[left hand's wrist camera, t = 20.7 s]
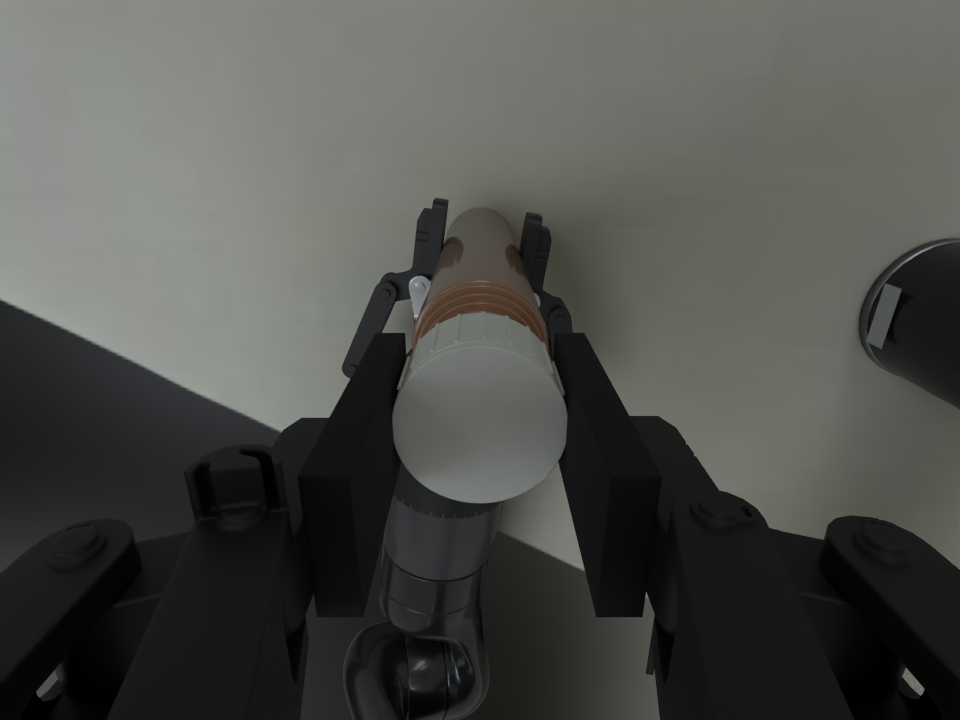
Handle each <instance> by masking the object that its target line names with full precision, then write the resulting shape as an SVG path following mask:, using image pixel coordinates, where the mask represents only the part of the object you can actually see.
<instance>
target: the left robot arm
mask: <svg viewBox="0 0 960 720" xmlns="http://www.w3.org/2000/svg"><path fill="white" fill-rule="evenodd" d="M553 361H554V362H555V365H556V368H557V371H558V374H559V377H560V380H561V383H562V386H563V389H564V392H565V395H564V396H563V397H564V401H565V404H566V407H567V412H568V418H567V434H566V445H565V448H564V451H563V453H562V456H561V457H560V459H559V461H558V462H559V466H560V470H561V474H562V478H563V482H564V487H565V491H566V495H567V499H568V503H569V507H570V511H571V515H572V519H573V523H574V527H575V531H576V535H577V540H578V544H579V548H580V552H581V556H582V560H583V564H584V568H585V572H586V576H587V580H588V584H589V588H590V593H591V597H592V601H593V605H594V609H595V613H596V617H642V615H643V609H644V602H645V595H646V592H647V594H648V597H649V600H650V602H651V605H652V608H653V610H654V613H655V617H654V624H653V630H652V637H651V643H650V650H649V656H648V663H647V669H646V674H650V675H653V673H654V668H655V677H656V686H657V696H658V705H659V714H660V720H960V570H959V569H958V568H957V567H955V566H954V565H953V564H952V563H951V562H950V561H948V560H947V559H946V558H945V557H944V556H942V555H941V554H940V553H939V552H938V551H937V550H935V549H934V548H933V547H932V546H931V545H929V544H928V543H926V542H925V541H924V540H922V539H921V538H919V537H918V536H916V535H915V534H913V533H912V532H909V531H907V530H905V529H903V528H901V527H898V526H896V525H895V524H893V523H890V522H887V521H884V520H882V521H881V520H879V519H876V518H871V517H861V516H845V517H840V518H836V519H835V520H833V521H832V522H831V523H830V524H829V525H828V527H827V530H826V534H825V537H824V540H821V539H816V538H811V537H806V536H802V535H797V534H792V533H787V532H782V531H779V530H775V529H771V528H769V527H768V525H767V522H766V520H765V519H764V517H763V516H762V515H761V513H760V512H759V511H758V509H757V508H755V507H754V506H752V505H751V504H750V503H748V502H747V501H745V500H744V499H742V498H739V497H737V496H735V495H732V494H730V493H727V492H723V491H719V489H718V488H717V487H716V485H715V484H714V482H713V481H712V479H711V478H710V476H709V475H708V473H707V472H706V471H705V469H704V468H703V466H702V465H701V463H700V462H699V460H698V459H697V457H696V456H694V453H693V452H692V450H691V449H690V447H689V446H688V445H686V441H685V440H684V439H683V437H682V436H681V434H680V433H679V431H678V430H677V428H675V427H674V426H672V425H671V424H669V423H668V422H666V421H665V420H663V419H662V418H660V417H659V416H629V415H628V413H627V411H626V409H625V407H624V405H623V404H622V402H621V400H620V398H619V396H618V394H617V393H616V391H615V389H614V387H613V385H612V383H611V382H610V380H609V378H608V376H607V374H606V372H605V371H604V369H603V367H602V365H601V363H600V361H599V360H598V358H597V356H596V354H595V352H594V350H593V349H592V347H591V345H590V343H589V341H588V339H587V338H586V336H585V334H584V333H555V337H554V356H553ZM405 363H406V344H405V333H375V335H374V337H373V339H372V341H371V342H370V344H369V346H368V348H367V350H366V352H365V353H364V355H363V357H362V359H361V361H360V363H359V364H358V366H357V368H356V370H355V372H354V374H353V375H352V377H351V379H350V381H349V383H348V385H347V386H346V388H345V390H344V392H343V394H342V396H341V397H340V399H339V401H338V403H337V405H336V407H335V408H334V410H333V412H332V414H331V416H330V418H301V419H299V420H298V421H296V422H295V423H293V424H292V425H290V426H289V427H287V428H286V429H284V430H283V431H282V433H281V434H280V436H279V437H278V439H277V440H276V442H275V443H274V447H269V446H265V445H261V444H241V445H235V446H229V447H224V448H222V449H219V450H216V451H213V452H210V453H208V454H206V455H204V456H202V457H201V458H199V459H197V460H196V461H194V462H193V463H192V464H191V465H190V466H189V467H188V468H187V469H186V470H185V471H184V475H185V479H186V484H187V488H188V492H189V496H190V501H191V505H192V510H193V514H194V518H195V521H194V523H193V526H192V528H191V530H190V531H186V532H183V533H179V534H175V535H170V536H166V537H160V538H155V539H150V540H146V541H141V542H136V539H135V536H134V532H133V529H132V527H131V526H130V525H129V524H127V523H126V522H125V521H123V520H117V519H112V518H105V519H94V520H87V521H82V522H81V523H75V524H72V525H69V526H67V527H65V528H63V529H61V530H59V531H57V532H55V533H52V534H50V535H48V536H47V537H45V538H44V539H42V540H41V541H39V542H38V543H36V544H35V545H33V546H32V547H31V548H29V549H28V550H27V551H26V552H25V553H24V554H22V555H21V556H20V557H19V558H18V559H17V560H15V561H14V562H13V563H12V564H11V565H9V566H8V567H7V568H6V569H5V570H4V571H2V572H1V573H0V720H300V715H301V706H302V697H303V688H304V679H305V669H306V660H307V651H308V642H309V637H308V630H307V624H306V617H305V615H306V612H307V610H308V607H309V604H310V601H311V599H312V596H313V593H314V597H315V604H316V611H317V617H363V616H364V611H365V607H366V603H367V599H368V595H369V591H370V587H371V583H372V579H373V575H374V571H375V567H376V563H377V558H378V554H379V550H380V546H381V542H382V538H383V534H384V530H385V526H386V522H387V518H388V514H389V510H390V506H391V501H392V497H393V493H394V489H395V485H396V481H397V477H398V473H399V469H400V465H401V459H400V457H399V455H398V453H397V451H396V448H395V445H394V438H393V424H392V412H393V408H394V404H395V401H396V397H397V394H398V391H399V390H397V386H398V383H399V380H400V377H401V374H402V372H403V369H404V366H405ZM905 668H907V669H908V670H909V671H910V672H911V673H912V675H913V676H914V677H915V678H916V679H917V680H918V682H919V683H920V684H921V685H922V686H923V687H924V689H925V690H924V692H923V694H922V695H921V696H920V695H919V694H917V693H916V692H915V691H914V690H913V689H912V688H911V687H910V686H909V684H908V683H907V682H906V681H905V680H904V678H903V677H902V676H903V673H904V671H905ZM54 670H55V672H56V674H57V677H58V680H57V681H56V682H55V684H54V685H53V686H52V687H51V688H50V690H48V691H47V692H46V693H45V694H44V695H43V696H42V697H40V698H39V697H38V696H37V694H36V691H37V690H38V689H39V687H40V686H41V685H42V684H43V683H44V682H45V680H46V679H47V678H48V677H49V676H50V675H51V674H52V672H53V671H54Z"/></svg>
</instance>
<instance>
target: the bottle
mask: <svg viewBox="0 0 960 720" xmlns="http://www.w3.org/2000/svg"><path fill="white" fill-rule="evenodd" d="M481 312H485V313H490V314H496V315H500V316H504V317H505V315H506V316H508V317H509V318H510V319H512V320H514V321H517V322H518V323H520V324H522V325H523V326H525V327H526V326H528V327H529V328H530V331H531V332H533V333H534V334H535V335H536V337H537V338H538V339H539V340H540V341H541V342H544V343H545V345H546V348H547V349H548V337H547V330H546V327H545V324H544V321H543V318H542V315H541V312H540V309H539V307H538V304H537V301H536V298H535V295H534V293H533V290H532V287H531V284H530V281H529V279H528V276H527V273H526V270H525V267H524V265H523V262H522V259H521V256H520V253H519V251H518V248H517V245H516V242H515V239H514V237H513V234H512V231H511V229H510V226H509V225H508V223H507V221H506V220H505V219H504V218H503V217H502V216H501V215H499V214H498V213H496V212H495V211H492V210H490V209H485V208H475V209H470V210H467V211H465V212H463V213H462V214H460V215H459V216H458V217H457V218H456V219H455V220H454V221H453V223H452V224H451V226H450V228H449V231H448V234H447V236H446V239H445V242H444V245H443V248H442V250H441V253H440V256H439V259H438V262H437V265H436V267H435V270H434V273H433V276H432V279H431V281H430V284H429V287H428V290H427V293H426V295H425V298H424V301H423V304H422V307H421V309H420V312H419V315H418V318H417V321H416V324H415V327H414V331H413V337H412V349H413V350H414V348H415V347H416V345H417V342H418V339H419V338H420V337H421V338H423V336H424V335H426V334H427V333H428V332H429V331H430V330H431V329H433V328H434V327H435V325H436V324H437V323H439V324H440V323H442V322H444V321H446V320H448V319H451V318H453V317H456V316H457V315H458V314H461V315H464V314H471V313H481Z"/></svg>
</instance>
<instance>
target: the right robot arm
mask: <svg viewBox="0 0 960 720" xmlns="http://www.w3.org/2000/svg"><path fill="white" fill-rule="evenodd" d="M447 210H448V200H447V199H440V198H435V199H434V201H433V206H432V209H429V208H424V210H423V211H422V213H421V215H420V216H419V218H418V220H417V229H416V240H415V249H414V258H413V267H412V268H411V269H410V270H408V271H406V272H401V273H393V272H390V273H387V274H385V275H384V276H383V277H382V279H381V281H380V283H378V284H377V286H376V287H375V289H374V291H373V294H372V296H371V299H370V301H369V303H368V306H367V308H366V311H365V313H364V315H363V318H362V320H361V322H360V325H359V327H358V330H357V332H356V334H355V337H354V339H353V341H352V344H351V346H350V349H349V351H348V353H347V356H346V358H345V360H344V363H343V365H342V371H343V373H344V374H345V376H347V377H348V378H351V377H352V375H353V374H354V372H355V370H356V368H357V366H358V364H359V363H360V361H361V359H362V357H363V355H364V353H365V352H366V350H367V348H368V346H369V344H370V342H371V341H372V339H373V337H374V335H375V333H382V331H383V329H384V327H385V325H386V322H387V320H388V318H389V315H390V313H391V311H392V309H393V306H394V304H395V302H396V301H400V300H405V299H410V298H411V303H412V308H413V313H414V319H415V324H416V321H417V318H418V315H419V312H420V309H421V307H422V304H423V301H424V298H425V295H426V293H427V290H428V287H429V284H430V281H431V279H432V276H433V273H434V270H435V267H436V265H437V262H438V259H439V256H440V253H441V250H442V248H443V243H444V235H445V227H446V218H447ZM550 245H551V236H550V231H549V229H548V228H547V227H545V226H542V217H541V215H540V214H535V213H529V212H527V213H526V216H525V221H524V226H523V232H522V238H521V243H520V249H519V253H520V256H521V259H522V262H523V265H524V267H525V270H526V273H527V276H528V279H529V281H530V284H531V287H532V290H533V293H534V295H535V298H536V301H537V304H538V307H539V309H540V312H541V315H542V318H543V321H544V322H545V323H546V330H547V337H548V349H549V356H550V358H551V361H553V356H554V337H555V333H572V323H571V316H570V313H569V312H568V310H567V308H566V306H565V304H564V302H563V301H562V299H560V298H558V297H554V296H552V295H550V294H548V293H546V292H545V291H544V290H543V281H544V276H545V271H546V266H547V260H548V256H549V251H550ZM860 336H861V341H862V344H863V346H864V349H865V351H866V352H867V354H868V355H869V357H870V358H871V359H872V360H873V361H874V362H875V363H876V364H877V365H879V366H880V367H882V368H883V369H885V370H887V371H889V372H891V373H893V374H895V375H898V376H901V377H903V378H905V379H906V380H908V381H910V382H912V383H914V384H915V385H917V386H919V387H921V388H922V389H924V390H926V391H927V392H929V393H931V394H933V395H935V396H936V397H938V398H940V399H942V400H944V401H945V402H947V403H949V404H951V405H953V406H954V407H956V408H958V409H960V239H944V240H938V241H934V242H931V243H928V244H925V245H922V246H920V247H918V248H916V249H914V250H912V251H910V252H908V253H906V254H905V255H903V256H902V257H900V258H899V259H898V260H897V261H895V262H894V263H893V264H892V265H891V266H889V267H888V268H887V269H886V270H885V271H884V272H883V274H882V275H881V276H880V277H879V278H878V280H877V281H876V282H875V284H874V285H873V287H872V288H871V290H870V292H869V293H868V296H867V298H866V300H865V302H864V305H863V308H862V312H861V317H860ZM412 352H413V349H411V350H410V351H409V352H408V353H407V354H406V360H407V357H408V356H411V354H412ZM503 501H504V500H503ZM503 501H498V502H493V503H468V502H461V501H457V500H453V499H450V498H447V497H444V496H442V495H439V494H437V493H435V492H433V491H431V490H430V489H428V488H427V487H425V486H424V485H422V484H421V483H420V482H419V481H418V480H417V479H415V478H414V477H413V475H412V474H411V473H410V472H409V471H408V470H407V468H406V467H405V465H404V464H403V463H402V461H401V465H400V469H399V473H398V477H397V481H396V485H395V489H394V493H393V497H392V501H391V506H390V510H389V514H388V518H387V522H386V526H385V530H384V543H383V552H382V562H381V573H380V581H379V600H380V606H381V609H382V612H383V614H384V616H385V617H386V619H387V620H388V621H389V622H384V623H378V624H374V625H370V626H368V627H366V628H364V629H363V630H361V631H360V632H359V633H358V634H357V635H356V637H355V638H354V639H353V641H352V643H351V645H350V647H349V649H348V651H347V654H346V657H345V662H344V669H343V681H344V690H345V695H346V699H347V702H348V705H349V709H350V712H351V715H352V718H353V720H458V719H461V718H464V717H466V716H468V715H470V714H471V713H472V712H473V711H475V710H476V709H477V707H478V706H479V705H480V704H481V702H482V701H483V699H484V697H485V695H486V693H487V690H488V686H489V664H488V657H487V652H486V647H485V642H484V637H483V630H482V618H481V593H482V587H483V583H484V578H485V573H486V568H487V562H488V557H489V552H490V548H491V546H492V543H493V540H494V538H495V535H496V532H497V529H498V525H499V521H500V516H501V511H502V506H503Z"/></svg>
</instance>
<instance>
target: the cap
mask: <svg viewBox="0 0 960 720" xmlns="http://www.w3.org/2000/svg"><path fill="white" fill-rule="evenodd" d="M397 390H399V391H398V394H397V397H396V401H395V404H394V408H393V412H392V424H393V438H394V445H395V448H396V451H397V453H398V455H399V457H400V459H401V461H402V463H403V464H404V465H405V467H406V468H407V470H408V471H409V472H410V473H411V474H412V475H413V477H414V478H415V479H417V480H418V481H419V482H420V483H421V484H422V485H424V486H425V487H427V488H428V489H430V490H431V491H433V492H435V493H437V494H439V495H442V496H444V497H447V498H450V499H453V500H457V501H461V502H468V503H493V502H498V501H503V500H507V499H510V498H513V497H516V496H518V495H521V494H523V493H525V492H527V491H528V490H530V489H532V488H533V487H535V486H536V485H537V484H539V483H540V482H541V481H542V480H543V479H544V478H545V477H546V476H547V475H548V474H550V472H551V471H552V470H553V468H554V467H555V466H556V464H557V463H558V461H559V459H560V457H561V456H562V453H563V451H564V448H565V445H566V434H567V418H568V412H567V407H566V404H565V401H564V397H563V396H564V395H565V392H564V389H563V386H562V383H561V380H560V377H559V374H558V371H557V368H556V365H555V362H554V361H551V358H550V356H549V354H548V351H547V348H546V345H545V343H544V342H541V341H540V340H539V339H538V338H537V337H536V335H535V334H534V333H533V332H531V331H530V328H529V327H528V326H526V327H525V326H523V325H522V324H520V323H518V322H517V321H514V320H512V319H510V318H509V317H508V316H506V315H505V317H504V316H500V315H496V314H490V313H485V312H481V313H471V314H464V315H461V314H458V315H457V316H456V317H453V318H451V319H448V320H446V321H444V322H442V323H440V324H439V323H437V324H436V325H435V327H434V328H433V329H431V330H430V331H429V332H428V333H427V334H426V335H424V336H423V338H421V337H420V338H419V339H418V342H417V345H416V347H415V348H414V350H413V352H412V354H411V356H408V357H407V360H406V363H405V366H404V369H403V372H402V374H401V377H400V380H399V383H398V386H397Z"/></svg>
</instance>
